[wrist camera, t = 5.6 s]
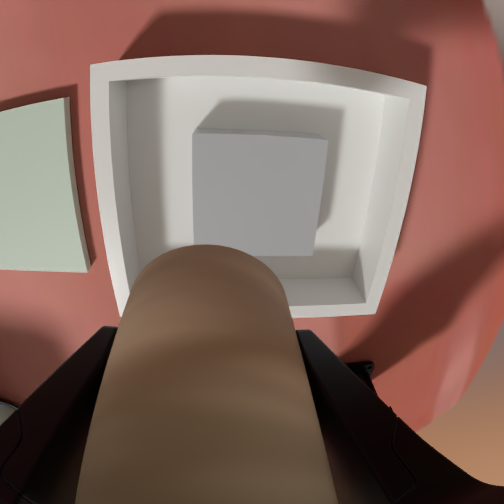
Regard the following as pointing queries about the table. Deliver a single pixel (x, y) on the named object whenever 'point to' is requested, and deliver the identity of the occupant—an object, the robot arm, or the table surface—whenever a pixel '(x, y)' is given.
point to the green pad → (39, 191)
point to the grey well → (257, 169)
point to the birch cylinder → (205, 392)
